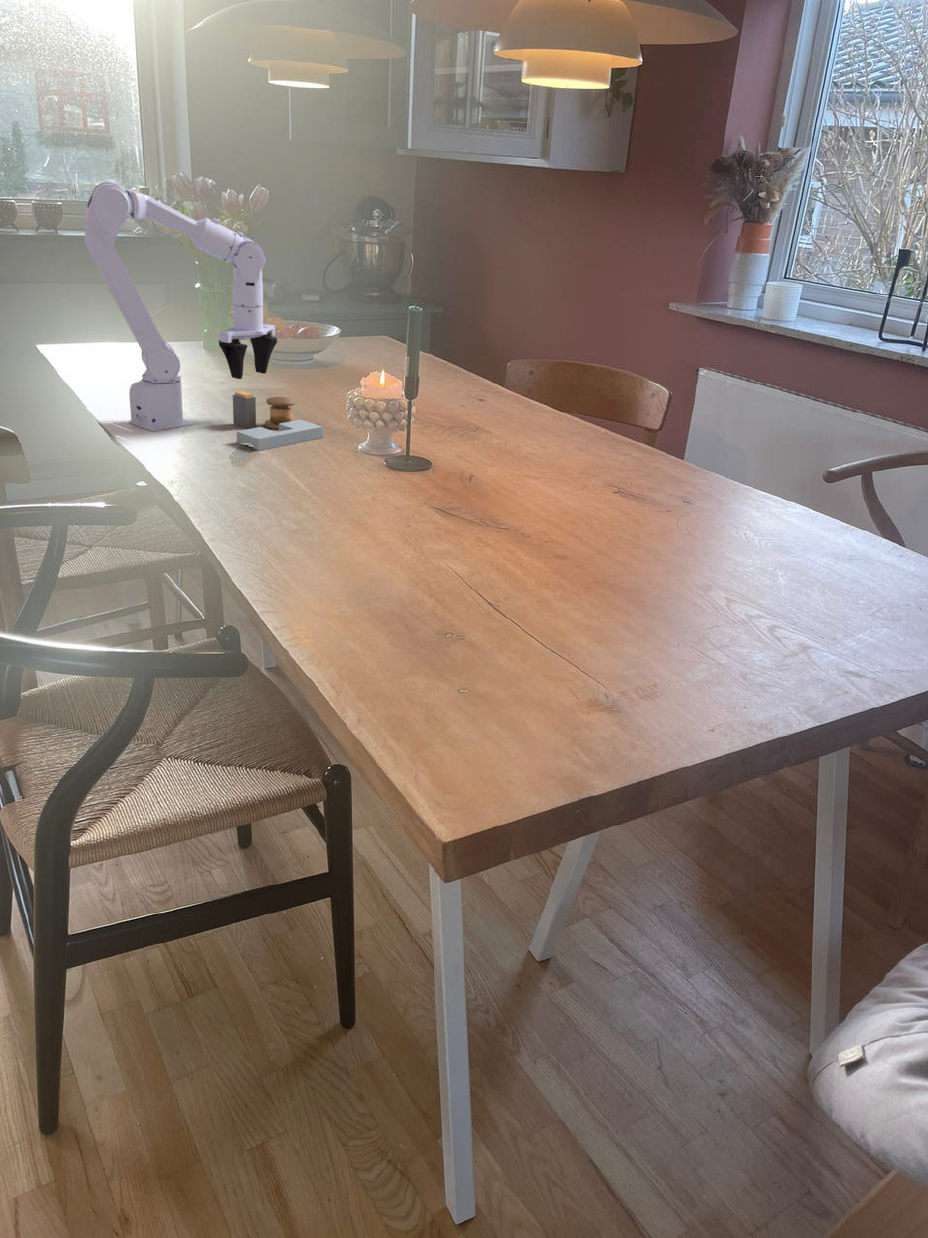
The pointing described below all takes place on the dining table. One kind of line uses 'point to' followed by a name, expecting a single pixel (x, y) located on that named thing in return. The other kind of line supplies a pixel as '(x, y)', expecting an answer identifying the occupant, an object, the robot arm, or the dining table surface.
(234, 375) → the robot arm
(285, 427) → the board
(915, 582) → the dining table surface
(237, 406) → the grey rectangular block
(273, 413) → the tan wooden yo-yo
